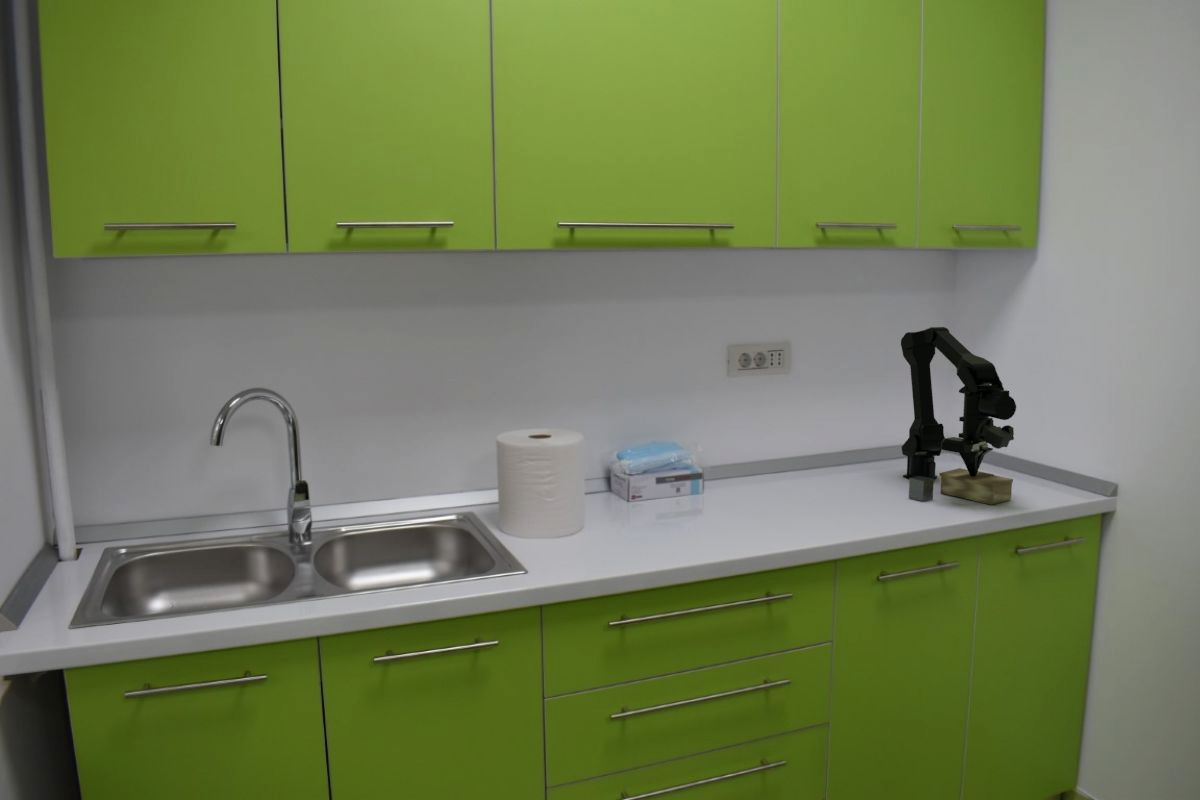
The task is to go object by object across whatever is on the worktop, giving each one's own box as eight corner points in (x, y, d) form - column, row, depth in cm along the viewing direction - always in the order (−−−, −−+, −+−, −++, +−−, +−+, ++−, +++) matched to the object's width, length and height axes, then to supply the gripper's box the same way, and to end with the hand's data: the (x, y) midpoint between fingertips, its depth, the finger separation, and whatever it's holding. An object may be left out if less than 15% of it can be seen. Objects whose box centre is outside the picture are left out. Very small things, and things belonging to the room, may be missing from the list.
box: (940, 492, 219) (941, 476, 219) (959, 487, 224) (959, 471, 223) (992, 504, 208) (993, 487, 207) (1010, 499, 212) (1011, 482, 212)
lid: (938, 476, 218) (939, 472, 218) (959, 471, 223) (959, 467, 223) (992, 487, 207) (992, 484, 207) (1013, 482, 212) (1013, 478, 211)
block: (908, 497, 215) (909, 478, 214) (918, 495, 218) (919, 475, 217) (922, 501, 212) (923, 481, 211) (932, 498, 214) (933, 478, 213)
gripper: (983, 421, 200) (979, 488, 203) (1029, 413, 210) (1025, 476, 213) (941, 415, 209) (938, 479, 212) (987, 408, 220) (984, 468, 222)
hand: (973, 476), depth 214 cm, fingers closed
